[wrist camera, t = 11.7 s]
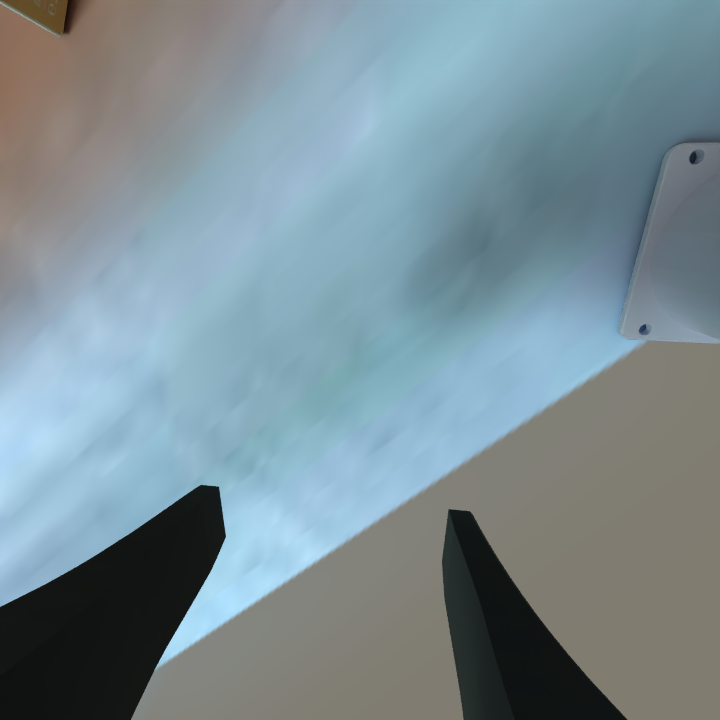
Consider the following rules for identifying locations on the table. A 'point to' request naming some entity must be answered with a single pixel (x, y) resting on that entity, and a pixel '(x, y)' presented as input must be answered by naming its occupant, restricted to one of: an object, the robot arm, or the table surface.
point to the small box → (41, 12)
